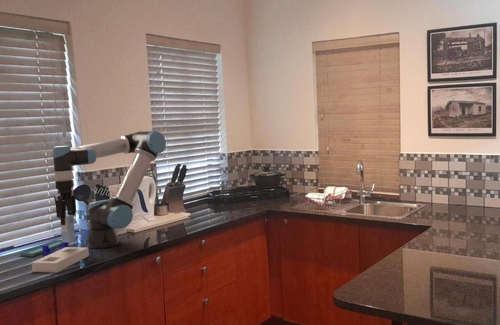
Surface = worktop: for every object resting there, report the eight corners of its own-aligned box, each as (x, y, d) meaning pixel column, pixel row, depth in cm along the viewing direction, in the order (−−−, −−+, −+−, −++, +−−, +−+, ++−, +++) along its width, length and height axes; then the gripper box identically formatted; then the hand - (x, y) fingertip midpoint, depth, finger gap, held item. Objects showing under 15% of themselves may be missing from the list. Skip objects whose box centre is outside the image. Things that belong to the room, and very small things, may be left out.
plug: (67, 240, 226) (65, 214, 225) (76, 240, 225) (74, 214, 224) (62, 242, 222) (60, 216, 221) (71, 242, 221) (69, 216, 220)
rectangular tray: (56, 243, 262) (56, 238, 262) (70, 244, 259) (70, 239, 259) (18, 257, 238) (18, 252, 238) (33, 258, 235) (32, 253, 235)
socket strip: (66, 257, 231) (65, 247, 231) (89, 258, 228) (88, 247, 228) (32, 273, 208) (31, 262, 207) (57, 274, 205) (56, 263, 204)
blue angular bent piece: (48, 258, 232) (47, 246, 231) (43, 257, 234) (42, 245, 234) (70, 252, 241) (69, 240, 240) (65, 251, 244) (64, 239, 243)
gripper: (68, 177, 230) (71, 226, 232) (44, 182, 214) (49, 234, 216) (82, 177, 228) (85, 226, 231) (59, 182, 212) (63, 235, 214)
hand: (68, 230), depth 223 cm, fingers closed on plug, 4 cm apart
